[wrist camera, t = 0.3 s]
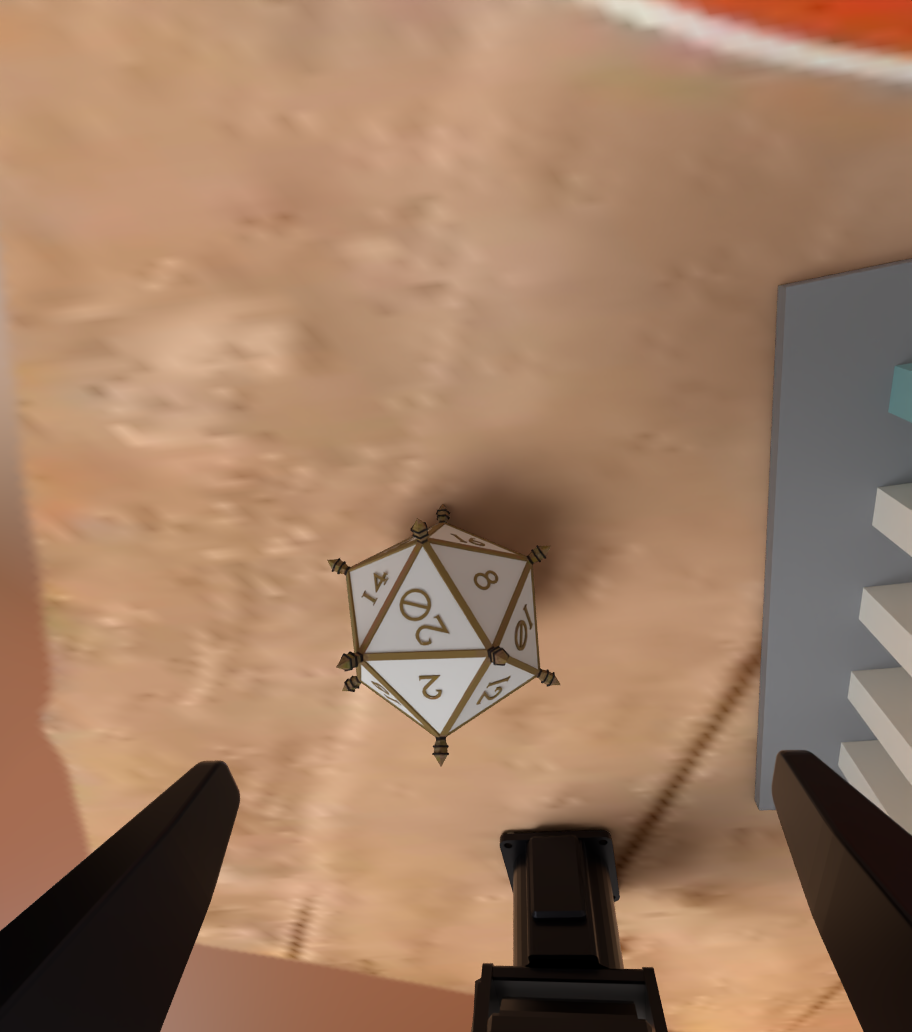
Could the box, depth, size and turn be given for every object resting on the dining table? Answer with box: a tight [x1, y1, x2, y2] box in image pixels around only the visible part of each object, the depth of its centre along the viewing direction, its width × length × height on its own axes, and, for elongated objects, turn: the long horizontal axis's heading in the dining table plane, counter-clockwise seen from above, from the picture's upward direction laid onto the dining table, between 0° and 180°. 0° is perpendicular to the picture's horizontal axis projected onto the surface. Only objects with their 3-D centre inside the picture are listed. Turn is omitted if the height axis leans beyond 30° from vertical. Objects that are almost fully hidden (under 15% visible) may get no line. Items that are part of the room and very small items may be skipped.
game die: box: [328, 504, 560, 766], centre depth 20 cm, size 9×8×10 cm
